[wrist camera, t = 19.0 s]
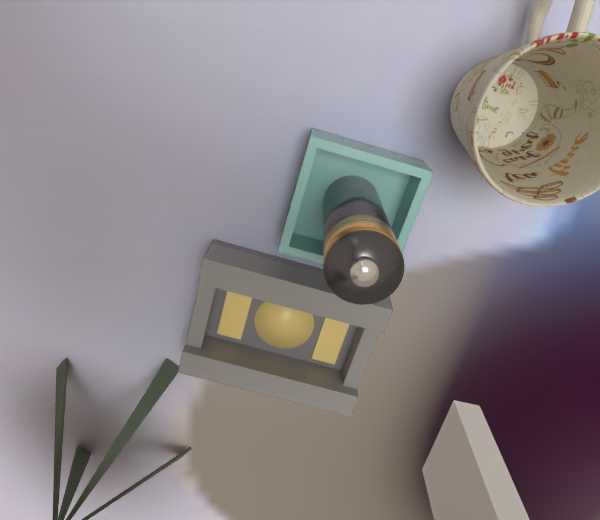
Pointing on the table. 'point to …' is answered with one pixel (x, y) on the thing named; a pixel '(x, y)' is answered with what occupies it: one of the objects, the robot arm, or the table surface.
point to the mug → (536, 114)
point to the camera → (82, 455)
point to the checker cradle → (279, 330)
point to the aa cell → (359, 243)
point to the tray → (345, 162)
